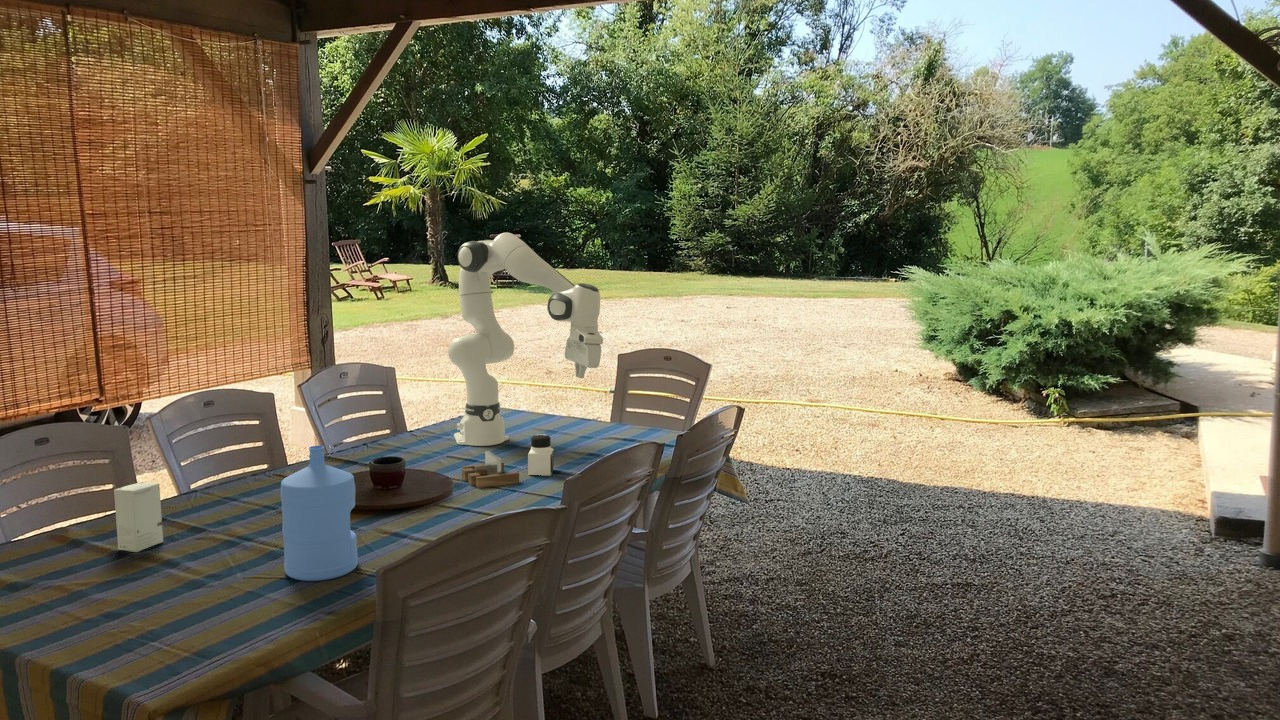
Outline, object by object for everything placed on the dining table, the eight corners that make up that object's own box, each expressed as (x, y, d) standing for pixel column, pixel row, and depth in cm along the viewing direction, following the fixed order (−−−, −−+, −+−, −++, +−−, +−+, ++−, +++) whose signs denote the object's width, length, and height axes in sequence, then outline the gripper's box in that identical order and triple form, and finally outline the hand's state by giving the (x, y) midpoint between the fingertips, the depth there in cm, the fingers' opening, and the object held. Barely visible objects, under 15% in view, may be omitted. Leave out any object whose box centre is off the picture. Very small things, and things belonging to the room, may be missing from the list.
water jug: (316, 588, 194) (310, 459, 190) (269, 572, 202) (262, 449, 198) (373, 565, 207) (368, 445, 203) (326, 552, 215) (321, 436, 211)
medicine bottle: (551, 476, 282) (550, 438, 281) (528, 475, 283) (527, 438, 281) (553, 470, 289) (553, 433, 288) (531, 469, 290) (530, 432, 288)
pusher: (469, 474, 281) (469, 452, 280) (489, 472, 284) (488, 450, 283) (481, 484, 271) (481, 461, 270) (501, 481, 274) (501, 458, 273)
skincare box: (136, 553, 214) (132, 491, 212) (116, 550, 215) (111, 489, 213) (165, 541, 222) (160, 482, 219) (145, 538, 223) (141, 480, 221)
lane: (459, 476, 281) (459, 466, 281) (502, 470, 288) (502, 461, 288) (474, 488, 268) (474, 478, 268) (519, 482, 275) (519, 473, 274)
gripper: (562, 330, 300) (558, 372, 301) (587, 338, 282) (583, 382, 283) (579, 331, 302) (575, 372, 304) (605, 339, 285) (601, 383, 286)
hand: (579, 377), depth 294 cm, fingers closed
